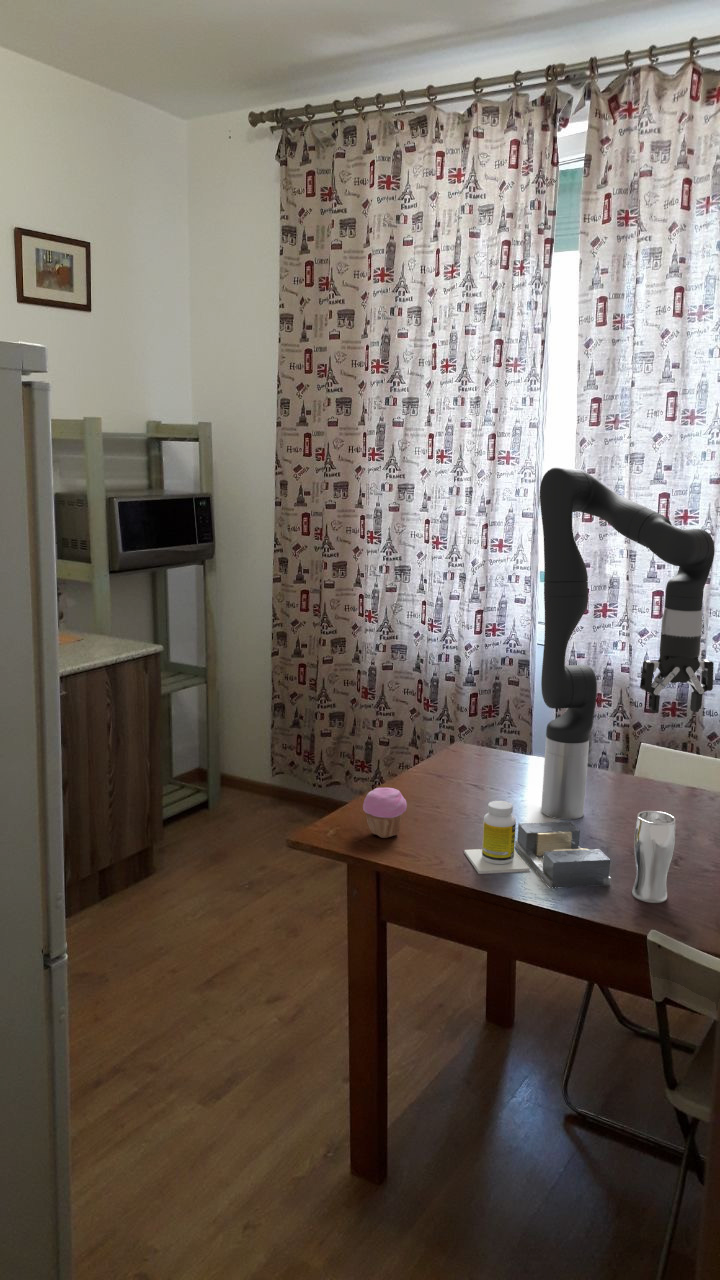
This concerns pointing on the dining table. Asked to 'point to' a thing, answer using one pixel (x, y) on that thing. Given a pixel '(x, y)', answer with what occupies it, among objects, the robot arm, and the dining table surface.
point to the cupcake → (384, 811)
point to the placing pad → (487, 867)
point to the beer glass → (653, 854)
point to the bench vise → (562, 855)
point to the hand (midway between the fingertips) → (674, 711)
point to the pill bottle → (498, 833)
